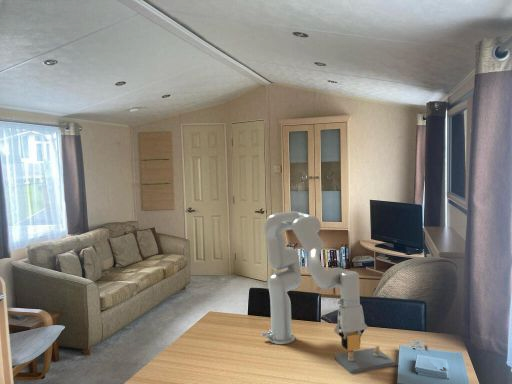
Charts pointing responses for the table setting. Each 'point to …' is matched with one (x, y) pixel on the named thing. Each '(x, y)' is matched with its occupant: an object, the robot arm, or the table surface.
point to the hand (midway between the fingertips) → (351, 346)
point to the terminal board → (364, 360)
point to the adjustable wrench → (418, 345)
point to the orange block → (353, 341)
